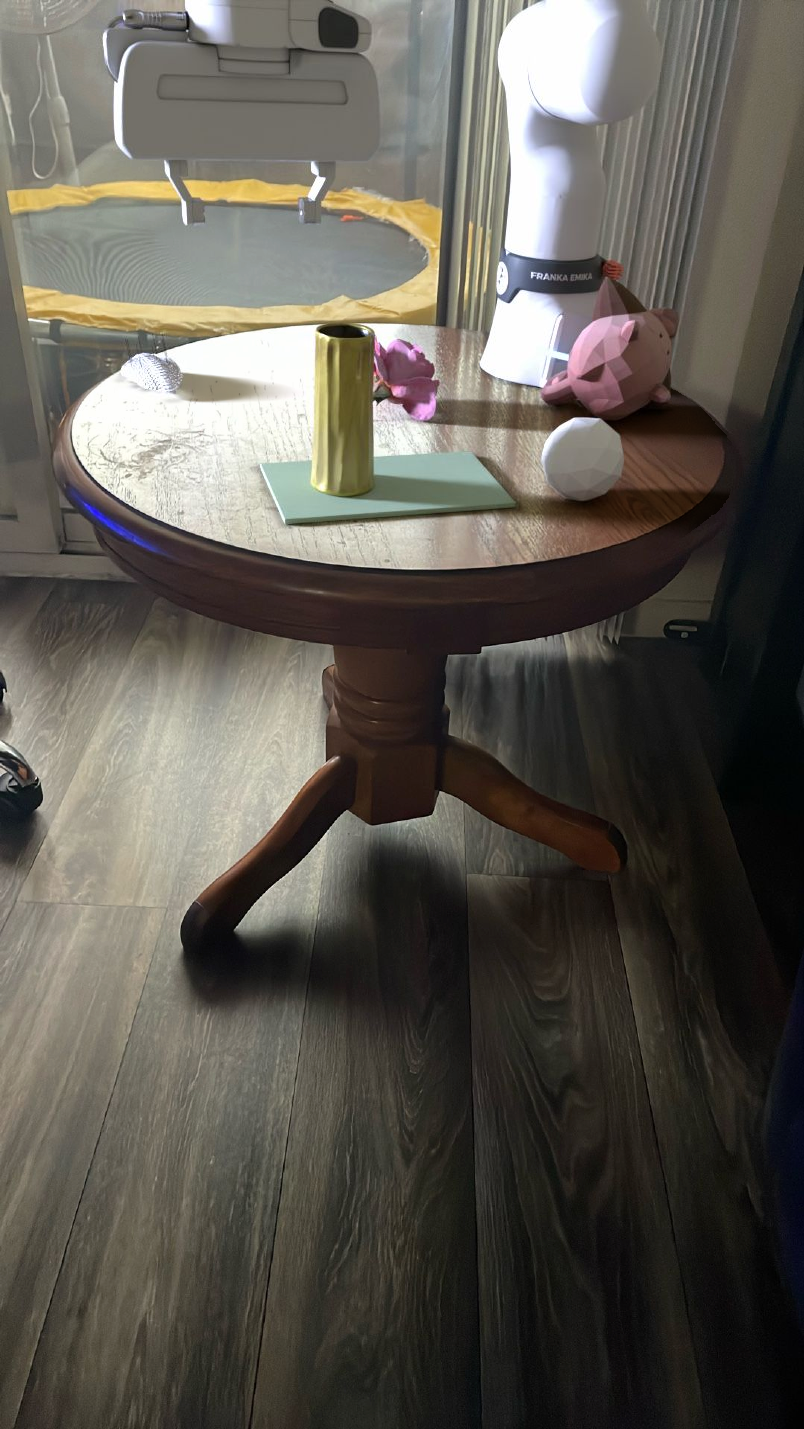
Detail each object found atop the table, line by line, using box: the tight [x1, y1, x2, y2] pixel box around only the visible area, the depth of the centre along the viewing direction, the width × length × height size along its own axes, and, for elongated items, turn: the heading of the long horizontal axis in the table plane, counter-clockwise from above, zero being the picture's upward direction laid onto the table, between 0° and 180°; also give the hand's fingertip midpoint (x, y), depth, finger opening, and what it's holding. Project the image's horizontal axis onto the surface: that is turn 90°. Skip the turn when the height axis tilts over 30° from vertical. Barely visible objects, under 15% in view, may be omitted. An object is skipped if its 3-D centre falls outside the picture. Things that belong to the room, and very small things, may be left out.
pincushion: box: [120, 332, 184, 395], centre depth 118 cm, size 12×6×6 cm, turn 32°
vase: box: [310, 321, 376, 497], centre depth 94 cm, size 6×6×14 cm
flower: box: [373, 334, 441, 422], centre depth 115 cm, size 11×10×10 cm
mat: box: [259, 450, 516, 525], centre depth 99 cm, size 22×13×1 cm, turn 106°
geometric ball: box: [541, 417, 625, 502], centre depth 98 cm, size 8×8×8 cm
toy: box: [539, 277, 680, 421], centre depth 118 cm, size 17×16×15 cm
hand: (252, 223), depth 82 cm, fingers open, 8 cm apart
